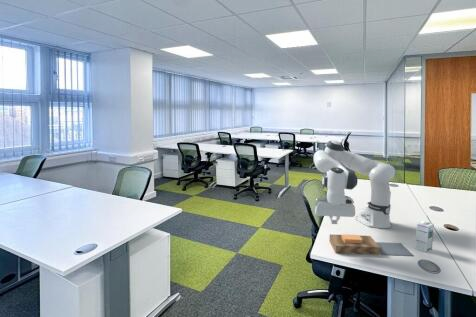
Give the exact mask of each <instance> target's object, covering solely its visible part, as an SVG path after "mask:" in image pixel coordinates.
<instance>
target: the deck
mask: <svg viewBox="0 0 476 317" xmlns="http://www.w3.org/2000/svg"><path fill="white" fill-rule="evenodd" d="M358 235H359V236H360V237H361V238H362V240H363V241H362V243H345V242H344V241H343V239H342V234H331V233H330V234H329V243H330V245H331V247H332V249H333V251H334V253H335V254H349V255H350V254H352V255H374V256H375V255H376V256H379V255H381V254H380V247H379V245H378V244H377V243H376V242H377V241H375V239H373V237H372V236H371V235H360V234H358Z"/></svg>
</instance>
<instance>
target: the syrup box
mask: <svg viewBox="0 0 476 317" xmlns="http://www.w3.org/2000/svg"><path fill="white" fill-rule="evenodd" d="M434 225H435V223H431V222H429V221H426V220H421V221H419V222H417V223H416V229H415V230H416V232H415V245H414V248H415V249H416V250H418V251H420V252H422V253H423V252H424V253H428V252H430V251H432V250H433V249H432V248H433V240H434V239H433V238H434Z"/></svg>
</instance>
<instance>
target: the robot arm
mask: <svg viewBox="0 0 476 317" xmlns="http://www.w3.org/2000/svg"><path fill="white" fill-rule="evenodd" d="M313 163H314V166H315V168H316V169H317V171H318V172H321V173H322V175H321V186H323V187H324V188H326V189H327V192H326V198H324V197H323V198H321V197H320V198H316V199H315V201H314V205H315V208H314V213H315V215H316V216H318V217H319V216H320V217H329V219H330V224H331V225H338V221H339V220H340V219H341V218H343V217H344V218H345V217H347V218H354V220H356V221H358V222H359V223H361V224H363V225H365V226H366V227H369V228H375V229H389V228H391V227H392V224H391V218H390V214H391V213H390V212H391V206H392V205H391V197H392V195H391V193H392V192H391V189H390V181H391V180H393V178H394V177H395V176H396V169H395V167H394V166H393V165H391V164H388V163H385V162H381V161H378V160H374V159H371V158H368V157H365V156H362V155H360V154H358V153H355V152H352V151H347V150H346V148H345V147H344V145H343V143H341V142H340V141H338V140H329V141H328V142H327V143H326V145H325V149H324V150H323V149H318V150H316V151H315V152H314V153H313ZM356 173H358V174H360V175H365V176H368V179H369V181H370V189H371V193H370V201H369V202H367V203H366V205H368V206H367V207H365V208H362V209H361V210H360V211H358V212H359V213H358V215H356V207H355V204H354V203H355V201H354V199H353V198H352V197H351V196H348V195H346V193H345V190H350V191H351V190H354V188H356V187H357V186H358V176H357V174H356ZM333 217H336V218H335V219H333Z"/></svg>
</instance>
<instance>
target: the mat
mask: <svg viewBox="0 0 476 317" xmlns="http://www.w3.org/2000/svg"><path fill="white" fill-rule="evenodd" d="M375 242H376V243H377V244H378V245H379V247H380V255H381V256H398V257H399V256H400V257H402V256H403V257H415V255H414V254H413V253H412V252H411V251H410V250H409V249H408V248H407V247H405V245H404V244H402V243H401V242H383V241H382V242H381V241H379V242H378V241H375Z"/></svg>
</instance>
